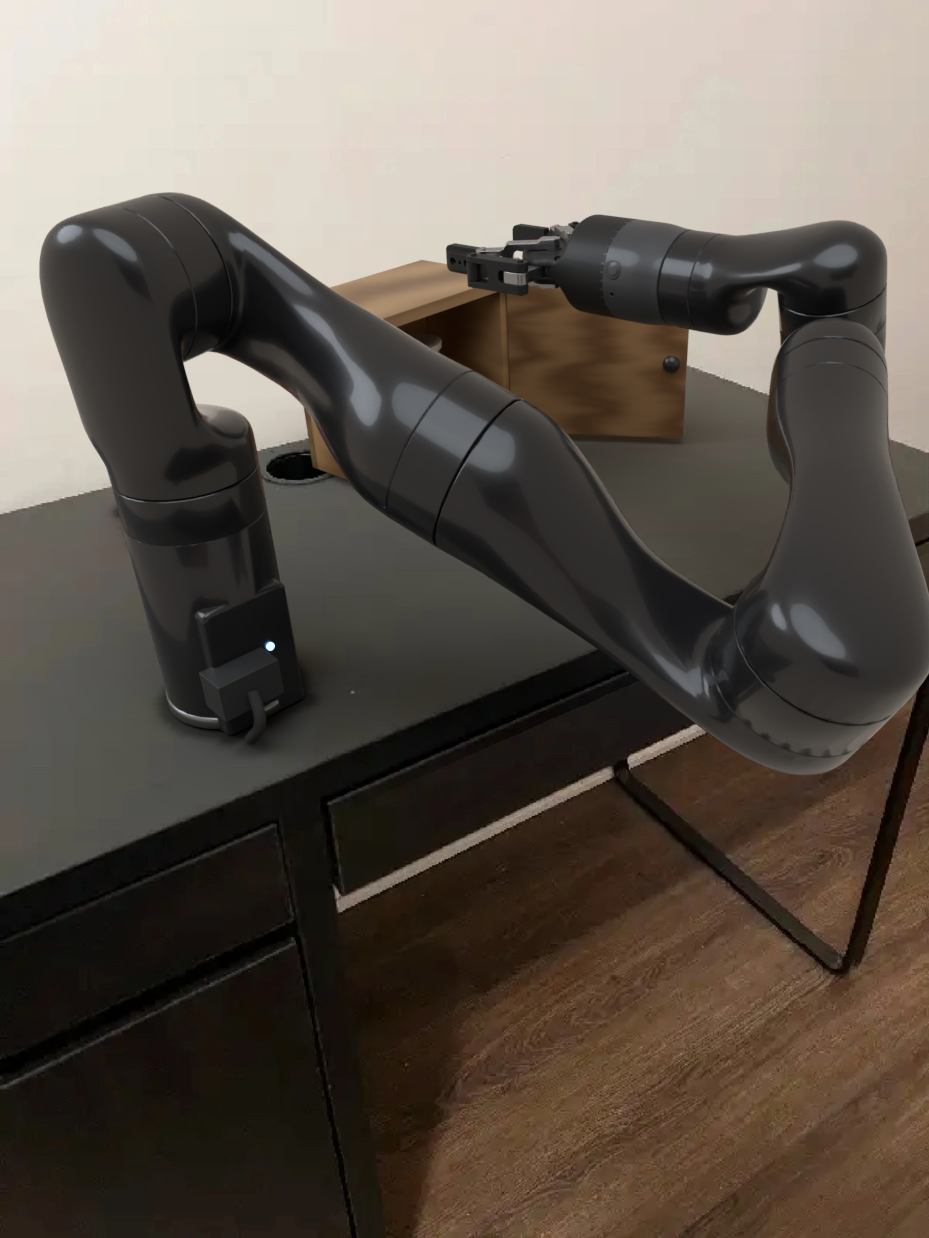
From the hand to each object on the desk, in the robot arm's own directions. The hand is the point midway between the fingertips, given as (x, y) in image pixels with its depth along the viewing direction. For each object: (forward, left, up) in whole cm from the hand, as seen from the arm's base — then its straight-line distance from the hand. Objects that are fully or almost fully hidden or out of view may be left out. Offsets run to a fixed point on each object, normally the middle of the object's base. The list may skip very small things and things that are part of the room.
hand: (483, 246), depth 90 cm
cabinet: (+4, -4, -22) cm, 23 cm away
